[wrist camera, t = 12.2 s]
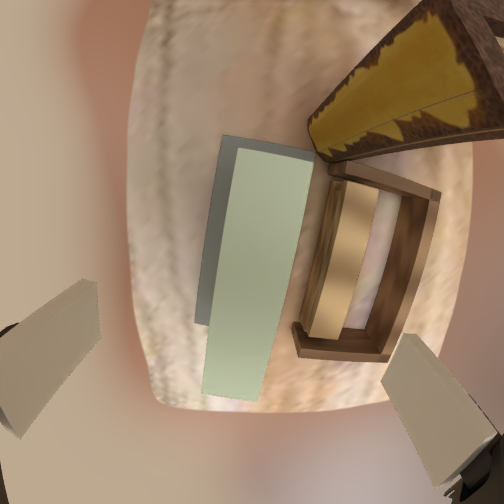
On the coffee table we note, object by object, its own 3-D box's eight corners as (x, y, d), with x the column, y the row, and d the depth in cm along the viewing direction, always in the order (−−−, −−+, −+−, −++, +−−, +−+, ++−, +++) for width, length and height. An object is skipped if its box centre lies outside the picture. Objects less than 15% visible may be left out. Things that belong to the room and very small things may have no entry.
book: (325, 177, 29) (520, 179, 5) (297, 107, 27) (404, -52, 3) (459, 136, 27) (606, 129, 3) (438, 80, 25) (571, 31, 1)
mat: (223, 136, 28) (223, 134, 27) (313, 153, 28) (315, 152, 28) (195, 319, 33) (194, 322, 32) (274, 333, 34) (275, 336, 33)
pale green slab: (245, 166, 28) (238, 147, 14) (283, 173, 28) (313, 162, 14) (222, 305, 32) (201, 393, 17) (255, 311, 32) (257, 401, 18)
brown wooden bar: (331, 180, 29) (346, 180, 24) (359, 188, 29) (379, 189, 24) (298, 318, 33) (306, 341, 28) (325, 321, 33) (336, 344, 28)
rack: (329, 164, 29) (347, 160, 23) (413, 189, 29) (441, 192, 23) (291, 330, 34) (298, 357, 28) (370, 338, 34) (387, 362, 28)
